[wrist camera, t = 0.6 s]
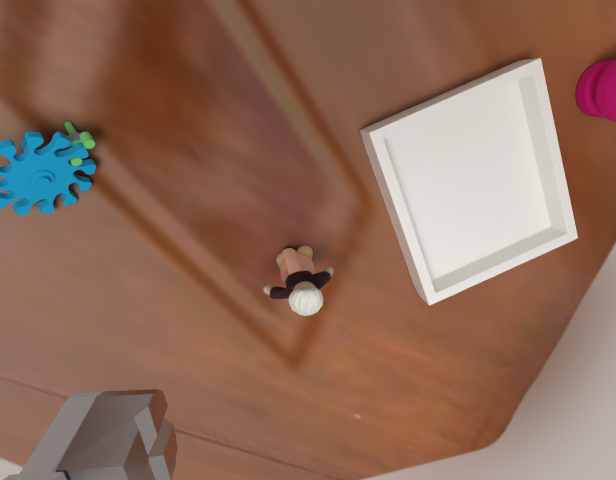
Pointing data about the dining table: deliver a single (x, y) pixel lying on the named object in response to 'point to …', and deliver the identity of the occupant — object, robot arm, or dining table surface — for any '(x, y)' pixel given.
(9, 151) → the gear
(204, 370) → the dining table surface
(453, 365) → the dining table surface
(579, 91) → the pepper mill
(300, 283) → the grandmother figurine
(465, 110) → the tray
